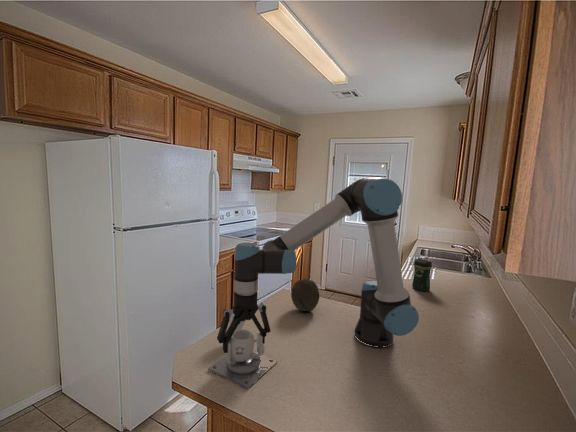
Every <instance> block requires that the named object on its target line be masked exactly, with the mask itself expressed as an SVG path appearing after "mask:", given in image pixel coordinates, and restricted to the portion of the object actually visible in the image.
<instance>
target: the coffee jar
mask: <svg viewBox="0 0 576 432" xmlns="http://www.w3.org/2000/svg"><path fill="white" fill-rule="evenodd" d="M413 267H414V273H413V279H412V284H411V285H412V287H411V288H412V289H414V290H417V291H420V292H429V291H430V290H431V270H432V268H433V264H432V261H431V260H426V259H422V258H416V259H415V260H414V263H413Z"/></svg>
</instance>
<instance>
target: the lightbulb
mask: <svg viewBox="0 0 576 432" xmlns="http://www.w3.org/2000/svg"><path fill="white" fill-rule="evenodd" d="M234 316H235V315H234V313H233V314H232V315H231V317H230V319H229V323H230V324H231V323H232V321H233V317H234ZM246 321H247V320H245V321H241V322H240V324H239V325H238V326H237V328H236V330H240V329H243V327H244V325H245V323H246ZM230 324H229V325H230Z"/></svg>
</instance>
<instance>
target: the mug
mask: <svg viewBox="0 0 576 432" xmlns="http://www.w3.org/2000/svg"><path fill="white" fill-rule="evenodd" d="M229 342H230V343H231V356H230V357H231V358H232V359H233V360H234V361H237V362H243V361H246V360H248V359H249V358H250V356H251V354H253V355H254V356H261V355H264V353H265V343H264V344H263V342H262V341H261V340H258V339H257V338H256V339H255V336H254V333H253V332H252V331H250V330H249V329H244V328H242V329H240V330H235V332H234V333H233V335H232V337H231V339H230V341H229ZM257 342H260V343H261V345H262V352H261V353H260V354H256V353H254V352H253V351H254V346H255V343H257Z"/></svg>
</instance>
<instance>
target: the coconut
mask: <svg viewBox="0 0 576 432" xmlns="http://www.w3.org/2000/svg"><path fill="white" fill-rule="evenodd" d="M290 293H291V294H290V295H291V296H290V297H291V300H292V304H293V305H294V307H295V308H296V309H298V311H300V310H301V311H300V312H302V311H310V312H312V311H314V310H315V309H316V307H317V305H319V301H320V291H319V286H318V284H317V283H316V282H315V281H314V280H313V279H309V278H308V279H306V278H304V279H303V278H302V279H299V280H297V281H296V282H295V283H294V284H293V286H292V288H291V292H290Z"/></svg>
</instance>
